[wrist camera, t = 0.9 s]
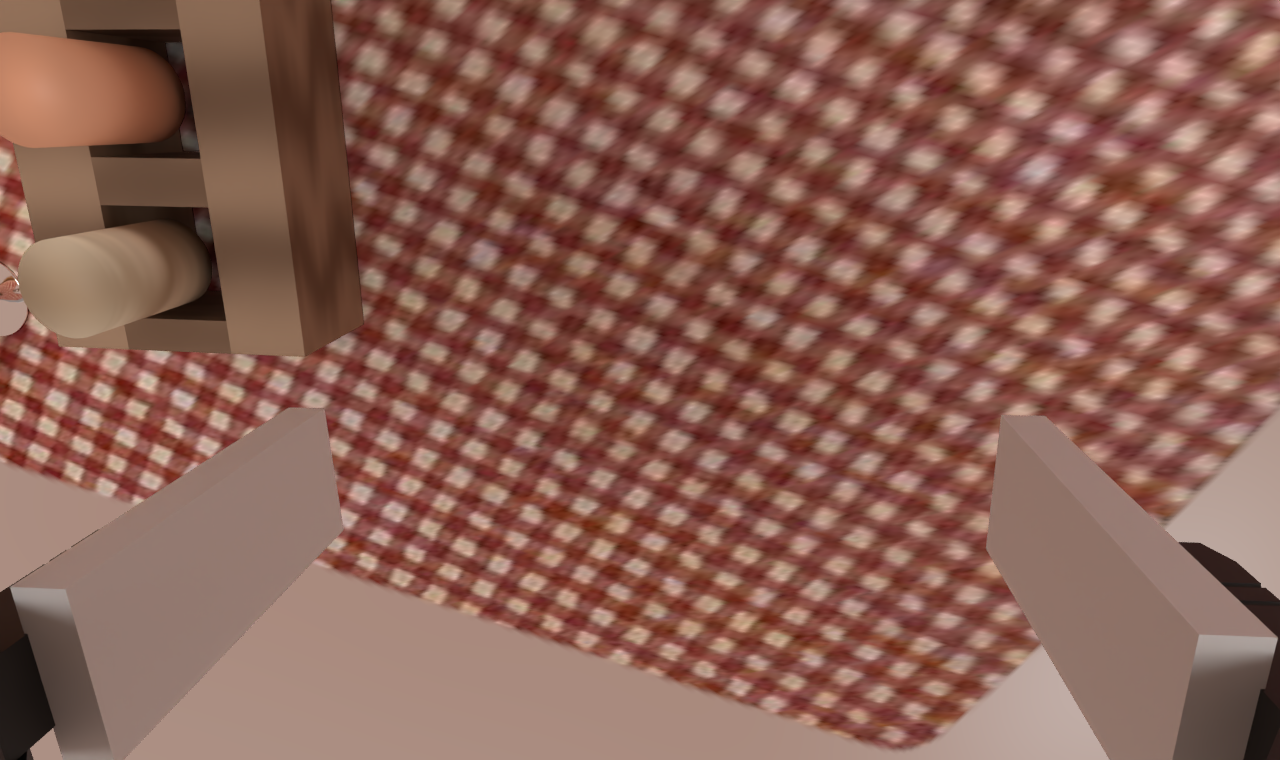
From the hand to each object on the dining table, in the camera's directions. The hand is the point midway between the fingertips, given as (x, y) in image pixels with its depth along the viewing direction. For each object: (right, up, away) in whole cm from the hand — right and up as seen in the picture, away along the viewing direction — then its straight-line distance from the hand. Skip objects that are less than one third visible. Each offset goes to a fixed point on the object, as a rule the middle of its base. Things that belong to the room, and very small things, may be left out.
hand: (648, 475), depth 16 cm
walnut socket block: (-20, +15, +23) cm, 34 cm away
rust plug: (-21, +14, +18) cm, 31 cm away
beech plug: (-21, +7, +20) cm, 30 cm away
